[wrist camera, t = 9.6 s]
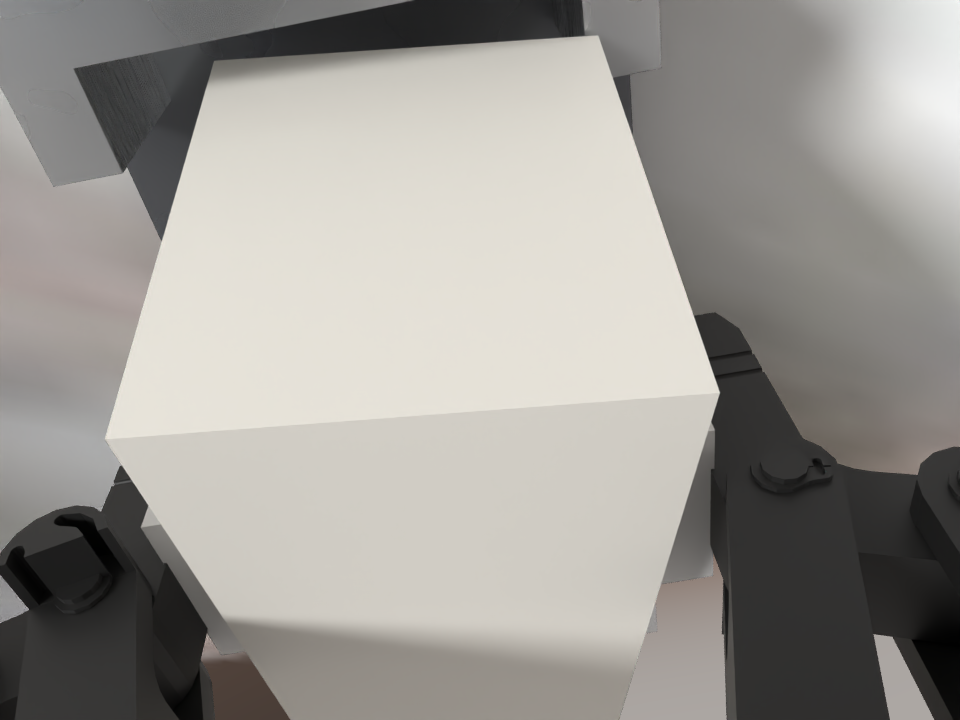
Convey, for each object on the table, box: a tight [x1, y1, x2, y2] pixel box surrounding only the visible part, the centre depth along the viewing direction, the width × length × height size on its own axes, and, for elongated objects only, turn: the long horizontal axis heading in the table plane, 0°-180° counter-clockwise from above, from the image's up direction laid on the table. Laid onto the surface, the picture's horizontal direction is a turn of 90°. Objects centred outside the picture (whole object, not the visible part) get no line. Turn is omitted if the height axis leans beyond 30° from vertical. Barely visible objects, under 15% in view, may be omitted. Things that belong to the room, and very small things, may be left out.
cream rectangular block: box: [105, 35, 720, 720], centre depth 12 cm, size 10×5×6 cm, turn 2°
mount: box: [0, 0, 661, 633], centre depth 15 cm, size 14×9×6 cm, turn 10°
